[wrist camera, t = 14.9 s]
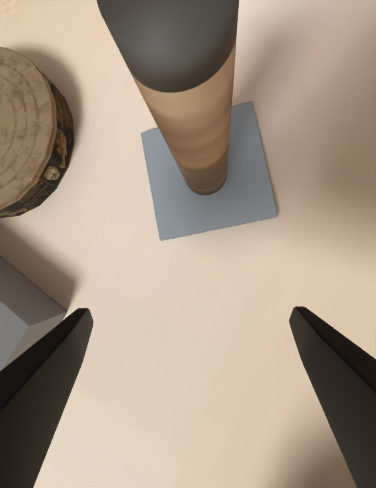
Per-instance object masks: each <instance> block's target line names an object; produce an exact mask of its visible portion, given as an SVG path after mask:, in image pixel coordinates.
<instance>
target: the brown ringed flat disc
mask: <svg viewBox="0 0 376 488" xmlns="http://www.w3.org/2000/svg"><path fill="white" fill-rule="evenodd" d="M73 146H74V130H73V118H72V115H71V113H70V110H69V107H68V105H67V102H66V100H65V98H64V96H63V95H62V94H61V93H60V92H59V91H58V89H57V88H56V87H55V86H54V85H53V84H52V82H51V81H50V80H49V79H48V78H47V77H46V76H45V75H44V74H43V73H42V72H41V71H40V70H39V69H38V68H37V67H36V66H35V65H34V64H33V63H32V62H31V61H30V60H29V59H28V58H26V57H24V56H23V55H21V54H19V53H17V52H15V51H13V50H11V49H9V48H3V47H0V218H5V217H13V216H20V215H22V214H24V213H26V212H28V211H30V210H32V209H34V208H36V207H38V206H40V205H41V204H42V203H43V202H44V201H45V200H46V199H47V198H48V197H49V196H50V195H51V194H52V193H53V192H54V191H55V190H56V189H57V187H58V185H59V183H60V182H61V180H62V178H63V176H64V174H65V173H66V171H67V169H68V167H69V163H70V159H71V154H72V150H73Z"/></svg>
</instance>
